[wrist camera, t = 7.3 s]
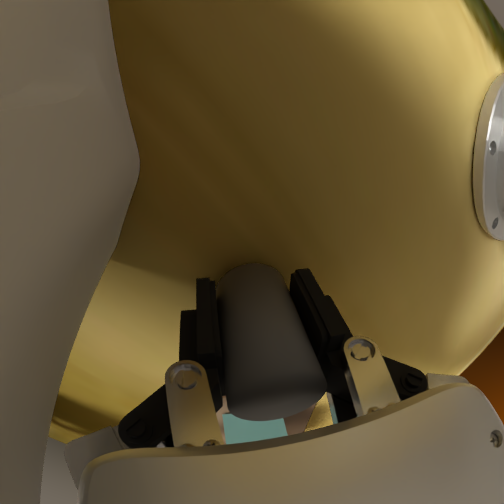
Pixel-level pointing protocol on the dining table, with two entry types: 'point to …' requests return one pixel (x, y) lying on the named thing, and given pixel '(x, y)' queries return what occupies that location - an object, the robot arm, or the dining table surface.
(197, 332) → the robot arm
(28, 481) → the tall white carton
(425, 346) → the dining table surface
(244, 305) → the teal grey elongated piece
